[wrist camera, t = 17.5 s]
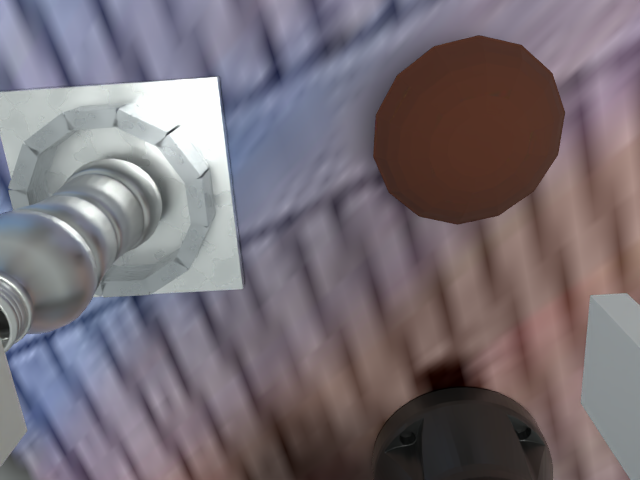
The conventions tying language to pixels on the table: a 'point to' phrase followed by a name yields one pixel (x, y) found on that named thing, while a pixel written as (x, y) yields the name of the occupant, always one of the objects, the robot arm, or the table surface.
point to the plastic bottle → (71, 245)
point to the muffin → (468, 130)
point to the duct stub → (150, 155)
